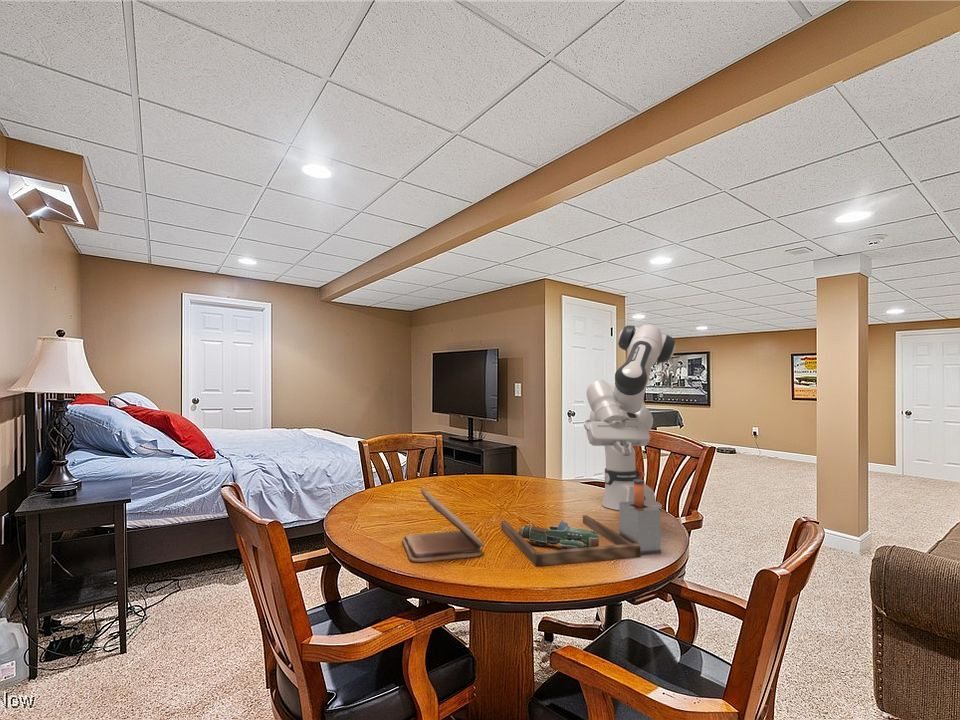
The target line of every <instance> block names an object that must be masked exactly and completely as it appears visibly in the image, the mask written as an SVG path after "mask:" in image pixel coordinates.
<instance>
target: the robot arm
mask: <svg viewBox="0 0 960 720" xmlns="http://www.w3.org/2000/svg"><path fill="white" fill-rule="evenodd" d="M617 337H618V338H617V342H618V343H617V344H618V347H619V349H622V350H623V351H626V352H627V357H626V358H627V360H625V362H624V363H623V364H622V365H621V366H620V367H618V368H617V370H616V371H615V373H614V384H613V383H609V382H606V381H605V380H604V379H596V380H594V381H593V382H591V383H590V384H589V386H588V387H587V389H586V397H587V401H588V404H589V406H590V408H591V411H590V413H589V419H587V420H585V421H584V422H583V426H584V429H585V431H586V437H587V440H588V443H589V444H590V445H591V446H594V447H595V446H596V447H598V446H599V447H604V452H605V468H604V483H605V485H604V494H603V498H602V502H601V506H602V507H604V508H607V509H611V510H616V511H619V502H634V482H633V480H634V479H640V477H641V478H644V477H645V476H646V473H645V472H644V471H642V470H637V469H636V450H635V449H634V447H646V446H647V445H648V444H649V443H650V440H651V434H650V432H651V430H652V428H653V425H654V417H653V415H652V412H651V411H650V410H649V408H648V407H647V406H646V404H645V395H646V394H645V393H646V390H647V386H648V383H649V379H650V377H651V376H650V375H651V371H652V367H653V366H654V365H655V364H656V366H658V365H660V364H661V363H665V362H667V361H669V360H670V359H671V357H672V356H674V354H675V351H676V340H675V338H673V337H672V336H670V335H668V334H664V333H662V332H661V329H660V328H659V327H657V326H656V325H654V324H644V325H642V326H640V327H639V326H638V327H637V326H635V325H631V324H630V325H626V326H624V327H623V328H622V329H621V330H620V332H619V334H618V336H617ZM656 499H657V498H656V494H655V492H654V489H652V488H651V487H650V486H648V485H647V484H646V482H645V483H644V503H646V504H648V505H650V506H652V507H655V508H657V509H659V510H661V509H662V508H663V505H662V503H660V502H658V501H656Z"/></svg>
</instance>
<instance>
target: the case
mask: <svg viewBox="0 0 960 720" xmlns="http://www.w3.org/2000/svg"><path fill="white" fill-rule="evenodd" d="M420 492H421V494H422V496H423V497H424V499H425V500H426V501H427V502H428V505H429V506H432V508H433V510H434V511H436V512H437V513H439V514H440V515H441V516H443V518H445V519H446V521H448V522H450V524H451V525H453V527H456V528H457V531H446V532H445V531H444V532H443V531H441V532H431V533H429V532H428V533H418V534H417V533H414V534H407V535H405V536H404V537H402V540H401V542H402V545H403V546H404V548H405V552H406V553H407V557H408V559H409V561H411V562H412V563H426V562H439V561H440V562H441V561H447V560H450V561H451V560H459V559H467V558H477V557H480V556H482V555H483V551H482V550H481V548H484V547H485V543H483V541H482V540H481V539H480V537H478V536H477V535H476V533H474V531H473V530H472V529H471V528H470V527H469V526H468V525H467V524H466V523H465V522H464V521H462V520H461V519H460V518H459V517H458V516H457V515H456V514H455V513H453V512H452V511H451V510H449V509H448V508H447V507H446V506H445V505H444V504H442V502H441V501H439V499H437V498H436V497H434V496H433V495H432V494H431V493H429V491H428V490H426V489H424V488H421V489H420Z"/></svg>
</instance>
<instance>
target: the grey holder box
mask: <svg viewBox="0 0 960 720" xmlns="http://www.w3.org/2000/svg"><path fill="white" fill-rule="evenodd" d="M618 511H619V514H618V515H619V516H618V517H619V524H618V525H619V535H620V536H622V537H624V538H625V539H627V540H629V541H630V542H632V543H637V544H638V545H640V554H641V556H643V555H650V554H651V555H652V554H661V553H662V549H661V509H657V508H655V507H652V506H650V505H648V504H646V503H644V508H637V507H634V502H619V510H618Z"/></svg>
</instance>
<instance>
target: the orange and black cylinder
mask: <svg viewBox="0 0 960 720" xmlns="http://www.w3.org/2000/svg"><path fill="white" fill-rule="evenodd" d="M633 482H634V507H637V508H644V483H645V484H646V482H645V480H644V479H634V480H633Z"/></svg>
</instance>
